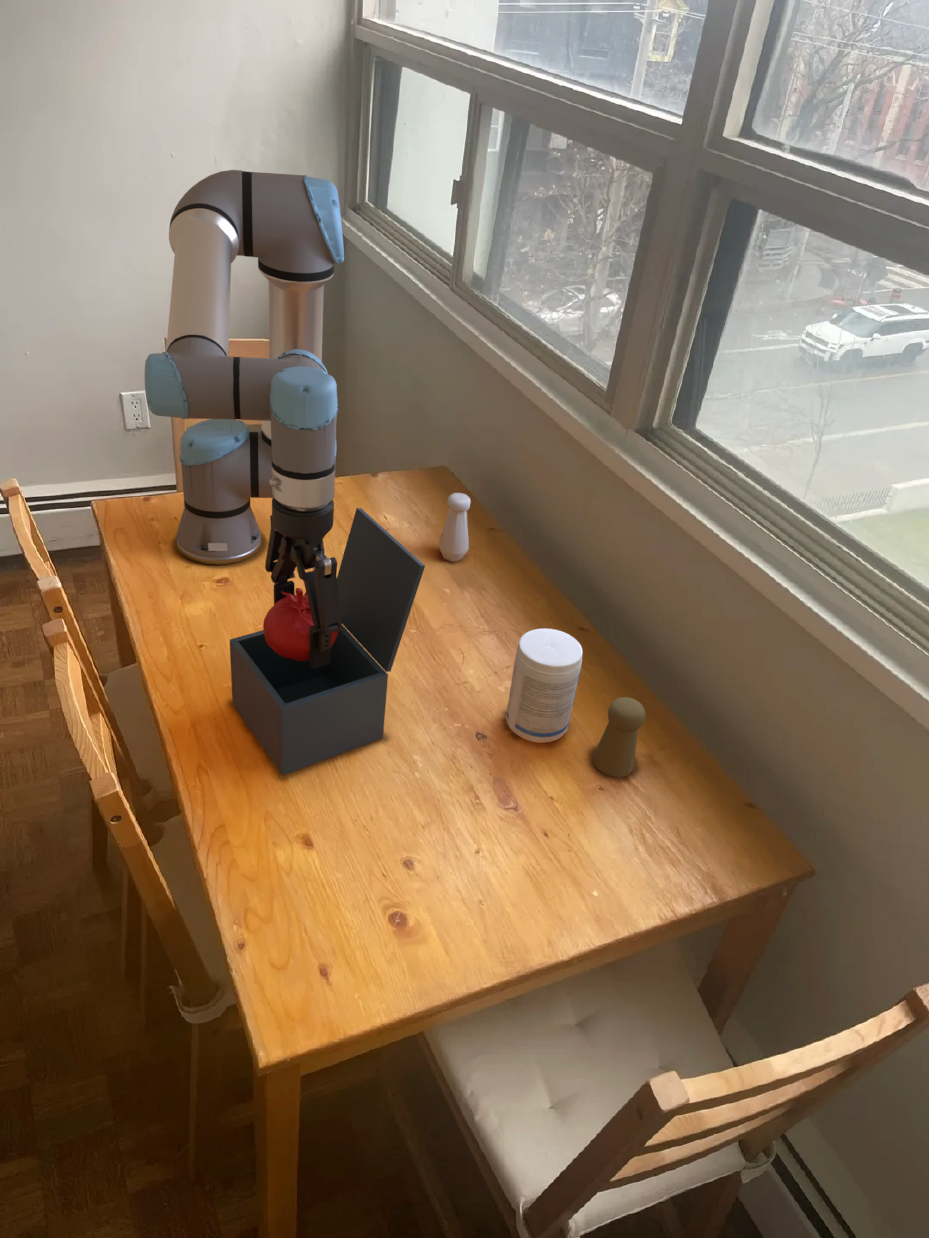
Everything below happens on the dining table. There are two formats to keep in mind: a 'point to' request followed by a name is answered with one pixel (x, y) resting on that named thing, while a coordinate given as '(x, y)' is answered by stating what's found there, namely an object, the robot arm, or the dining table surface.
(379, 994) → the dining table surface
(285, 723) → the box
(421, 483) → the dining table surface
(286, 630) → the red tomato
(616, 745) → the olive brown pawn
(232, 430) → the robot arm
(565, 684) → the supplement tub
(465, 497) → the salt shaker
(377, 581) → the lid
